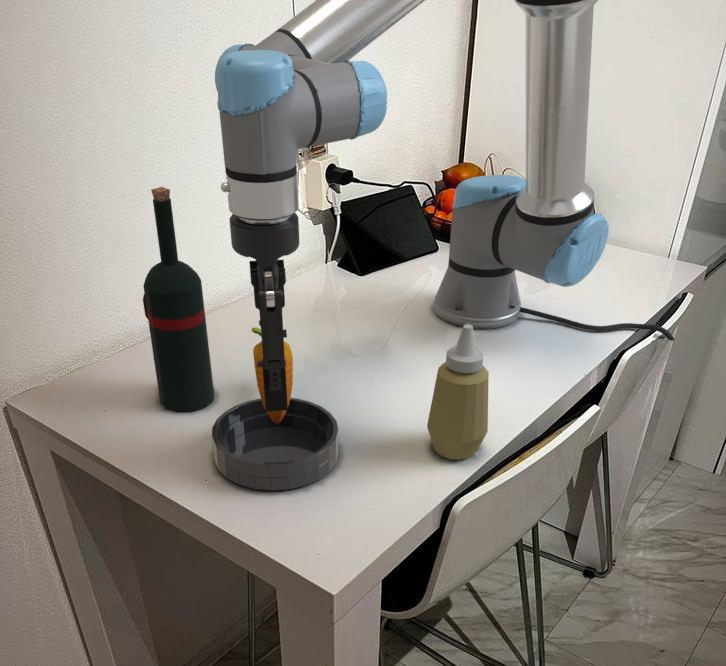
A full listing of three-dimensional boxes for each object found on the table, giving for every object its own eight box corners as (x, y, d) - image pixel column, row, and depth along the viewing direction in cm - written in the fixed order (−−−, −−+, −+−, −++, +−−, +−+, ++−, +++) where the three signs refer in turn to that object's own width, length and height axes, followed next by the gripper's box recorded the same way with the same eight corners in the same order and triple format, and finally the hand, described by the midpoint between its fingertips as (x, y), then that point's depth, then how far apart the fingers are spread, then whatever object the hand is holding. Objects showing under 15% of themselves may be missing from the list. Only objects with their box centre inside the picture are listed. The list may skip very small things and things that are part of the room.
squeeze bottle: (496, 448, 108) (514, 326, 98) (461, 473, 103) (476, 347, 93) (449, 426, 112) (460, 306, 102) (413, 449, 108) (421, 326, 97)
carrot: (290, 435, 101) (284, 327, 92) (252, 431, 102) (243, 323, 92) (300, 415, 105) (296, 309, 96) (264, 411, 105) (256, 305, 96)
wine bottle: (183, 374, 123) (156, 173, 105) (225, 398, 117) (205, 189, 100) (139, 393, 118) (104, 185, 100) (182, 418, 113) (152, 203, 95)
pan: (331, 419, 113) (331, 394, 111) (344, 487, 100) (344, 460, 98) (215, 426, 111) (212, 400, 109) (214, 496, 98) (210, 468, 96)
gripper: (228, 189, 93) (244, 365, 107) (229, 244, 79) (247, 438, 93) (292, 187, 94) (300, 362, 108) (304, 241, 80) (311, 434, 94)
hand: (275, 397), depth 101 cm, fingers closed on carrot, 5 cm apart
